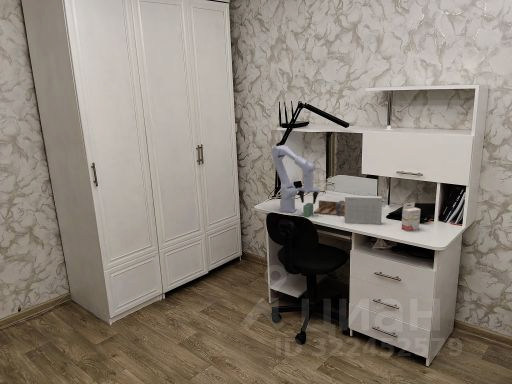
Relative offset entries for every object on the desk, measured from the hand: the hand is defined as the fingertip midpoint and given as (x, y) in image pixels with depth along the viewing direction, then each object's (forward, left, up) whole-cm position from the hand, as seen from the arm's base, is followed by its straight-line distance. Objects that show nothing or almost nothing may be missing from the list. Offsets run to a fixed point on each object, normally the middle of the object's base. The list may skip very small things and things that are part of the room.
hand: (308, 202), depth 255 cm
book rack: (+12, +11, -8) cm, 18 cm away
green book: (0, 0, -8) cm, 8 cm away
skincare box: (+35, -3, -8) cm, 36 cm away
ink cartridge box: (+62, -6, -8) cm, 63 cm away
